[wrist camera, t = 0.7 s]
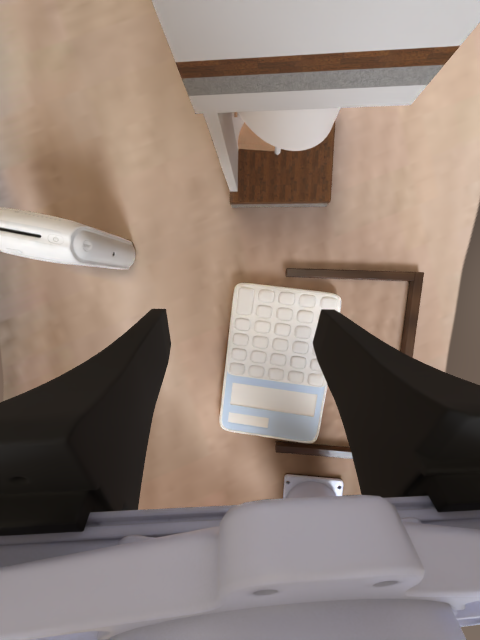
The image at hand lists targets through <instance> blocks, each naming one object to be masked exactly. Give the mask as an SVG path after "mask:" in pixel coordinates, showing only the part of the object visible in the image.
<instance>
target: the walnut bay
mask: <svg viewBox="0 0 480 640" xmlns="http://www.w3.org/2000/svg"><path fill="white" fill-rule="evenodd" d="M423 276H424V273H423V272H391V271H359V270H327V269H294V268H287V269H286V277H309V278H339V279H369V280H399V281H410V283H409V291H408V299H407V306H406V314H405V322H404V330H403V337H402V345H401V352H402V353H404V354H406V355H408V356H410V357H413V349H414V342H415V335H416V327H417V320H418V313H419V305H420V298H421V291H422V283H423ZM275 450H276V452H280V453H291V454H303V455H315V456H326V457H338V458H350V459H353V457H352V453H351V449H350V447H339V446H327V445H314V444H302V443H290V442H278V441H276V444H275Z"/></svg>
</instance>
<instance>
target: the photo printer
mask: <svg viewBox="0 0 480 640" xmlns="http://www.w3.org/2000/svg"><path fill="white" fill-rule="evenodd" d="M0 251H1V252H5V253H8V254H12V255H17V256H21V257H26V258H31V259H36V260H42V261H48V262H54V263H62V264H72V265H82V266H92V267H101V268H109V269H129V267H130V266H131V265H132V264H133V262H134V260H135V256H136V252H135V249H134V246H133V245H132V242H131V241H129V240H127V239H125V238H122V237H119V236H116V235H114V234H111V233H108V232H105V231H102V230H99V229H96V228H93V227H90V226H87V225H84V224H81V223H78V222H75V221H72V220H68V219H64V218H59V217H55V216H51V215H46V214H41V213H35V212H30V211H24V210H18V209H11V208H0Z"/></svg>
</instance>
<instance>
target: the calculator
mask: <svg viewBox="0 0 480 640" xmlns="http://www.w3.org/2000/svg"><path fill="white" fill-rule="evenodd" d="M321 309H334V310H336V311H338V312H339V313H340V310H341V298H340V296H339V295H337V294H334V293H329V292H322V291H314V290H305V289H296V288H288V287H279V286H271V285H262V284H254V283H239V284H237V285H236V286H235V289H234V293H233V301H232V310H231V319H230V328H229V337H228V346H227V355H226V364H225V373H224V382H223V391H222V400H221V409H220V426H221V428H223V429H224V430H227V431H231V432H236V433H243V434H249V435H255V436H262V437H268V438H275V439H281V440H288V441H294V442H301V443H313V442H315V441H316V440H317V437H318V434H319V430H320V425H321V419H322V413H323V408H324V402H325V396H326V390H327V385H328V384H327V382H326V379H325V377H324V375H323V373H322V370H321V368H320V366H319V363H318V361H317V358H316V354H315V351H314V347H313V339H314V336H315V332H316V328H317V324H318V320H319V316H320V312H321Z"/></svg>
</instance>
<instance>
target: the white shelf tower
mask: <svg viewBox="0 0 480 640" xmlns="http://www.w3.org/2000/svg"><path fill="white" fill-rule="evenodd" d="M152 3H153V6H154V8H155V11H156V13H157V16H158V18H159V21H160V24H161V26H162V29H163V31H164V34H165V36H166V39H167V42H168V44H169V47H170V49H171V52H172V54H173V57H174V60H175V62H176V65H177V67H178V70H179V72H180V75H181V78H182V80H183V83H184V85H185V88H186V90H187V93H188V96H189V98H190V101H191V103H192V106H193V108H194V111H195V114H204V117H205V120H206V123H207V126H208V129H209V132H210V135H211V138H212V141H213V143H214V146H215V149H216V152H217V155H218V158H219V161H220V164H221V167H222V170H223V173H224V176H225V178H226V181H227V184H228V187H229V190H230V204H231V206H232V207H316V206H327V205H328V203H329V202H330V201H331V185H332V168H333V151H334V134H335V120H336V117H337V115H338V113H339V111H340V108H351V107H376V106H400V105H411V104H412V103H413V102H414V100H415V99H416V98H417V97H418V96H419V94H420V93H421V92H422V91H423V90H424V88H425V87H426V86H427V85H428V84H429V82H430V81H431V80H432V79H433V78H434V76H435V75H436V74H437V73H438V72H439V70H440V69H441V68H442V67H443V66H444V64H445V63H446V62H447V61H448V60H449V58H450V57H451V56H452V55H453V54H454V52H455V51H456V50H457V49H458V48H459V47H460V45H461V44H462V43H463V42H464V41H465V39H466V38H467V37H468V36H469V35H470V33H471V32H472V31H473V30H474V29H475V27H476V26H477V25H478V24H479V23H480V0H152Z"/></svg>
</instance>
